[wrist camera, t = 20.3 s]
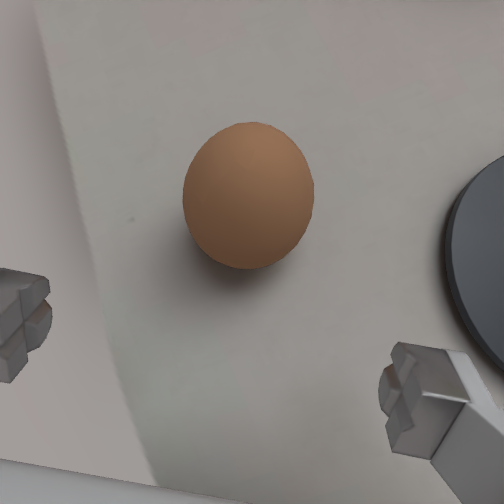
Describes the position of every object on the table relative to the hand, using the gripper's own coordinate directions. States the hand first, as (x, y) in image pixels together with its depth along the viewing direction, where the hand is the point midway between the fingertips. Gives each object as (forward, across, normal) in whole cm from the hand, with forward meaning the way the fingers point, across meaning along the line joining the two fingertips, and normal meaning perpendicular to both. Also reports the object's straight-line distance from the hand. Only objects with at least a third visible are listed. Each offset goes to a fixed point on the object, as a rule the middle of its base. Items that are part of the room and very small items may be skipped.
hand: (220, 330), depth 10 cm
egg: (+11, 0, +3) cm, 11 cm away
